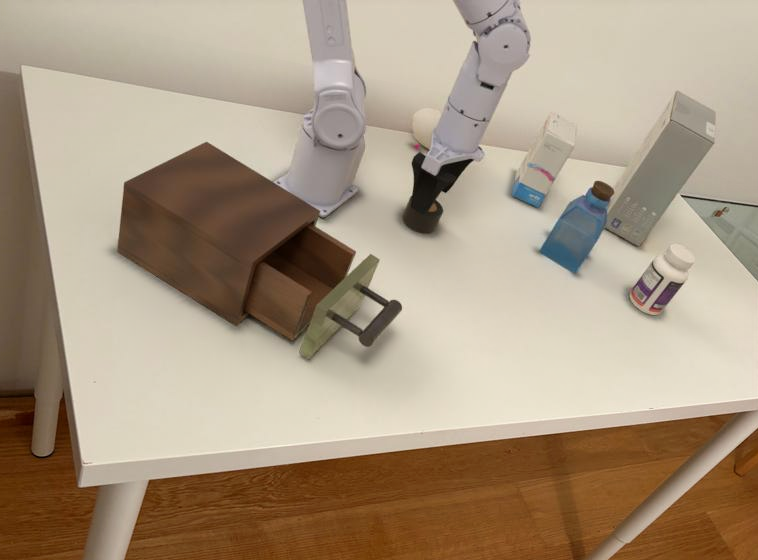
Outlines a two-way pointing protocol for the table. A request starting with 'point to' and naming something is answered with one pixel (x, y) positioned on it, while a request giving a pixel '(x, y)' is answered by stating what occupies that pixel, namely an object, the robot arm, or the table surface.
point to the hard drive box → (660, 167)
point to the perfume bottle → (579, 228)
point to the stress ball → (425, 125)
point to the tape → (423, 218)
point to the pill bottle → (662, 280)
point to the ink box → (545, 159)
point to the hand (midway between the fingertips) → (429, 199)
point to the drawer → (316, 290)
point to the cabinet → (207, 225)
